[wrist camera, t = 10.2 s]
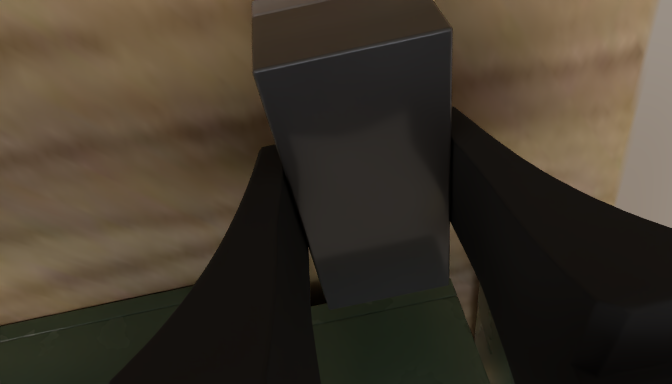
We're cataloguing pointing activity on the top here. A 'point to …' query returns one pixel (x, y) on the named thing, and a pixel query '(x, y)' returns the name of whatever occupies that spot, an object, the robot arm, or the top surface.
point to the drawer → (409, 342)
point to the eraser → (362, 137)
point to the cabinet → (83, 341)
